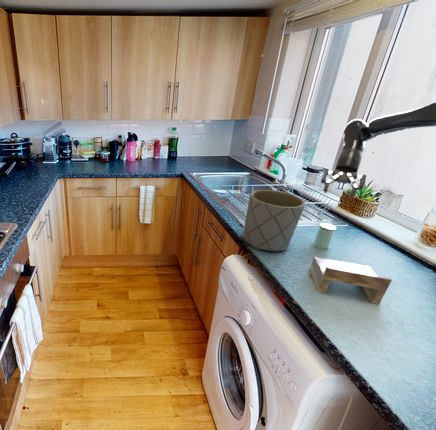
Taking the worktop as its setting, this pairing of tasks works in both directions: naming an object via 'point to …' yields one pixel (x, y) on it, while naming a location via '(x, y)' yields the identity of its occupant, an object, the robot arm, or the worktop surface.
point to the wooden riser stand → (348, 277)
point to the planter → (272, 219)
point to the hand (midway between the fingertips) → (338, 194)
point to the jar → (324, 236)
